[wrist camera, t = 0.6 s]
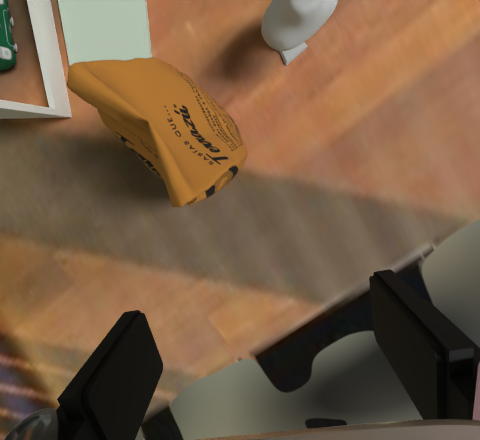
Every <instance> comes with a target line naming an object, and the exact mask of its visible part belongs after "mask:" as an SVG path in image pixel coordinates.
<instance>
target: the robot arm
mask: <svg viewBox="0 0 480 440" xmlns="http://www.w3.org/2000/svg"><path fill="white" fill-rule="evenodd" d="M369 281H370V292H371V303H372V314H373V324H374V334H375V338H376V341H377V343H378V345H379V347H380V348H381V350H382V351H383V353H384V355H385V357H386V358H387V360H388V362H389V363H390V365H391V367H392V368H393V370H394V372H395V373H396V375H397V376H398V378H399V380H400V381H401V383H402V385H403V386H404V388H405V390H406V391H407V393H408V395H409V396H410V398H411V400H412V401H413V403H414V404H415V406H416V408H417V410H418V411H419V413H420V415H421V416H422V418H423V420H411V421H397V422H383V423H369V424H357V425H346V426H335V427H324V428H313V429H302V430H291V431H281V432H280V431H279V432H270V433H260V434H250V435H249V434H248V435H239V436H228V437H218V438H209V439H197V440H480V348H479V347H478V346H477V345H476V344H475V343H474V342H473V341H472V340H470V339H469V338H468V337H467V336H466V335H465V334H464V333H463V332H462V331H461V330H460V329H459V328H457V327H456V326H455V325H454V324H453V323H452V322H451V321H450V320H449V319H448V318H447V317H446V316H444V315H443V314H442V313H441V312H440V311H439V310H438V309H437V308H436V307H435V306H434V305H433V304H431V303H430V302H429V301H424V300H423V299H421V298H420V297H419V296H418V295H417V294H416V293H415V292H414V291H413V290H412V289H411V288H410V287H409V286H408V285H407V284H406V283H405V282H404V281H402V280H401V279H400V278H399V277H398V276H397V275H396V274H395V273H394V272H393V271H392V270H383V271H377V272H374V276H370V278H369ZM162 371H163V362H162V360H161V357H160V354H159V351H158V349H157V346H156V343H155V341H154V338H153V335H152V333H151V330H150V327H149V325H148V322H147V319H146V316H145V314H144V313H141V312H140V311H139V310H135V311H129V312H125V313H123V314H122V316H121V317H120V318H119V320H118V321H117V322H116V324H115V325H114V326H113V327H112V329H111V330H110V331H109V333H108V334H107V335H106V337H105V338H104V339H103V340H102V342H101V343H100V344H99V346H98V347H97V348H96V350H95V351H94V352H93V353H92V355H91V356H90V357H89V359H88V360H87V361H86V363H85V364H84V365H83V366H82V368H81V369H80V370H79V372H78V373H77V374H76V376H75V377H74V378H73V379H72V381H71V382H70V383H69V385H68V386H67V387H66V389H65V390H64V391H63V393H62V394H61V395H60V396H59V398H58V399H57V400H58V402H59V404H60V406H59V407H58V409H57V410H55V409H53V408H45V409H42V410H39V411H37V412H35V413H33V414H31V415H30V416H28V417H27V418H25V419H24V420H22V421H21V422H20V423H19V424H18V425H17V426H15V427H14V428H13V429H12V430H11V432H10V433H9V434H8V435H7V436H6V438H5V439H4V440H135V438H136V436H137V433H138V431H139V428H140V426H141V423H142V421H143V418H144V416H145V413H146V411H147V408H148V406H149V403H150V401H151V399H152V396H153V394H154V391H155V389H156V386H157V384H158V381H159V379H160V376H161V374H162Z"/></svg>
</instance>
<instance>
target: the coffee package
mask: <svg viewBox="0 0 480 440" xmlns="http://www.w3.org/2000/svg"><path fill="white" fill-rule="evenodd" d="M67 86H68V88H69V89H70V90H71V91H72V92H74V93H75V94H77V95H78V96H79V97H80V98H82V99H83V100H84V101H86V102H87V103H89V104H91V105H92V106H94V107H96V108H97V109H98V112H99V114H100V117H101V119H102V120H103V122H104V123H105V124H106V125H107V126H108V127H109V128H110V129H111V130H112V131H113V132H114V133H115V134H116V135H117V136H118V137H119V138H120V139H121V140H122V141H123V142H124V143H125V144H126V145H127V146H128V147H129V148H130V149H131V150H132V151H133V152H134V153H135V154H136V155H137V156H138V157H139V158H140V159H141V160H142V161H143V162H144V163H145V165H146V166H147V167H148V168H149V169H150V170H151V171H153V172H154V173H155V174H156V175H157V176H158V177H160V178H161V179H162V180H163V181H164V182H165V185H166V188H167V191H168V194H169V197H170V201H171V204H172V207H182V206H184V205H185V204H186V203H187V204H188V205H190V206H192V205H193V204H194V203H196V202H198V201H200V200H204V199H206V198H208V197H209V196H211V195H213V194H214V193H216V192H217V191H219V190H220V189H222V188H223V187H224V186H226V185H227V184H228V183H229V182H230V181H231V180H232V179H233V177H234V176H235V175H236V174H237V172H238V171H239V170H240V169H241V168H242V166H243V164H244V162H245V159H246V157H247V150H246V147H245V145H244V142H243V140H242V138H241V135H240V133H239V131H238V128H237V126H236V124H235V122H234V121H233V119H232V118H231V117H230V115H229V114H228V113H227V112H226V111H225V110H224V109H223V108H222V107H221V106H220V105H219V104H218V103H217V102H216V101H215V100H214V99H213V98H211V97H210V96H209V95H208V94H207V93H206V92H205V91H204V90H203V89H202V88H200V87H199V86H198V85H197V84H196V83H195V82H194V81H193V80H192V79H191V78H190V77H189V76H187V75H186V74H184V73H183V72H181V71H179V70H178V69H177V68H175V67H173V66H172V65H170V64H168V63H166V62H164V61H161V60H159V59H156V58H153V57H150V58H134V59H131V60H97V61H89V62H84V61H83V62H78V63H73V64H72V65H71V66H70V67H69V72H68V81H67Z"/></svg>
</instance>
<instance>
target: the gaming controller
mask: <svg viewBox="0 0 480 440" xmlns="http://www.w3.org/2000/svg"><path fill="white" fill-rule="evenodd" d="M10 24H11V25H10ZM11 26H14V23H13V18H12V17H10V18H9V9H8V1H7V0H0V70H6V69H9V68H11V67H12V66H13V65H14V64H16V60H15V59H16V55H15V52H17V44H16V43H14V45H13V39H12V32H11ZM14 50H15V51H14Z"/></svg>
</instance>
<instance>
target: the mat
mask: <svg viewBox="0 0 480 440" xmlns="http://www.w3.org/2000/svg"><path fill="white" fill-rule="evenodd" d="M58 3H59V9H60V15H61V20H62V26H63V31H64V37H65V42H66V48H67V54H68V59H69V65H70V66H71V65H72V64H73V63H78V62H83V61H84V62H89V61H97V60H131V59H134V58H150V57H152V52H151V42H150V32H149V21H148V11H147V1H146V0H58Z"/></svg>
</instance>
